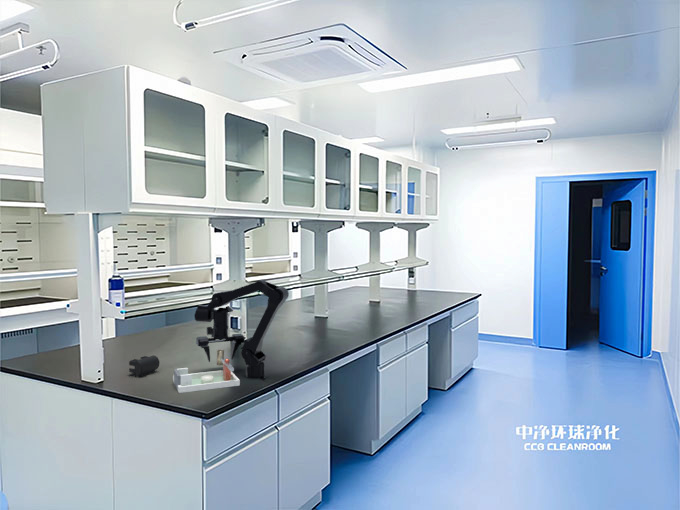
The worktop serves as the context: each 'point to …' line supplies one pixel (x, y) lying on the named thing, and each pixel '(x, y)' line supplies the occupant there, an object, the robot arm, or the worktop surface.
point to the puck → (206, 379)
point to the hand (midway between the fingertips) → (220, 360)
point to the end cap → (143, 365)
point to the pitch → (193, 381)
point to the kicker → (224, 365)
